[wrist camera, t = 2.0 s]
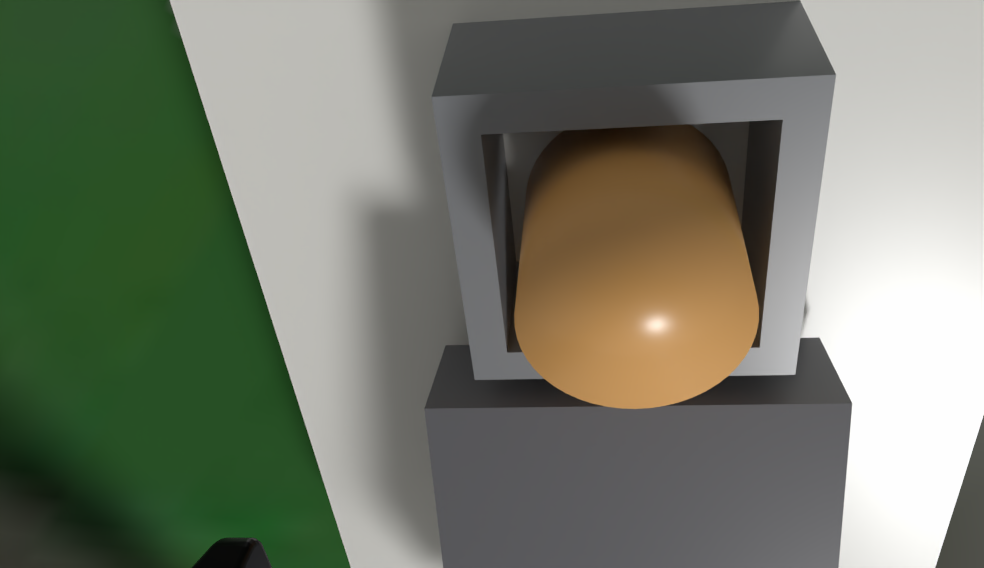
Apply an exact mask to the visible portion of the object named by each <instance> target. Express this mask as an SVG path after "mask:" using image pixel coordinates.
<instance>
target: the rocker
mask: <svg viewBox="0 0 984 568" xmlns="http://www.w3.org/2000/svg"><path fill="white" fill-rule="evenodd" d="M424 410H425V418H426V427H427V435H428V443H429V452H430V460H431V469H432V477H433V486H434V494H435V502H436V511H437V519H438V528H439V536H440V544H441V553H442V561H443V568H838V567H839V555H840V544H841V532H842V520H843V508H844V496H845V485H846V473H847V461H848V449H849V438H850V426H851V414H852V402H851V400H850V398H849V396H848V394H847V392H846V390H845V388H844V386H843V384H842V382H841V380H840V378H839V376H838V374H837V372H836V370H835V368H834V366H833V364H832V362H831V360H830V358H829V356H828V354H827V352H826V350H825V348H824V346H823V344H822V342H821V340H820V338H819V337H818V338H800V344H799V351H798V358H797V366H796V373H795V375H752V376H728V377H726V378H725V379H724V380H722V381H721V382H720V383H719V384H717V385H715V386H714V387H712V388H711V389H709V390H707V391H706V392H703V393H701V394H699V395H697V396H695V397H693V398H690V399H687V400H684V401H682V402H679V403H675V404H670V405H666V406H661V407H654V408H643V409H622V408H613V407H606V406H601V405H597V404H592V403H589V402H586V401H583V400H580V399H577V398H575V397H573V396H571V395H569V394H566V393H565V392H563V391H561V390H559V389H558V388H556V387H554V386H553V385H552V384H550V383H549V382H548V381H546V380H545V379H504V380H475V378H474V372H473V365H472V359H471V352H470V346H469V345H446V346H445V349H444V352H443V355H442V358H441V361H440V364H439V366H438V369H437V372H436V375H435V378H434V381H433V384H432V387H431V390H430V393H429V396H428V399H427V402H426V405H425V408H424Z"/></svg>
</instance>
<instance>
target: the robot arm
mask: <svg viewBox="0 0 984 568" xmlns="http://www.w3.org/2000/svg"><path fill="white" fill-rule="evenodd" d="M192 568H272V567H271V564H270V562H269V560H268V557H267V555H266V552H265V550H264V548H263V546H262V544H261V542H260V541H258V540H257V539H256V538H223V539H220V540H219V541H217V542H215V543H214V544H213V545H212V546H211V547H210V548H209V549H208V550H207V551H206V553H205V554H204V555H203V556H202V557H201V558H200V559H199V560H198V561H197V562H196V564H195V565H194V566H193V567H192Z"/></svg>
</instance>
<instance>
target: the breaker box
mask: <svg viewBox="0 0 984 568" xmlns="http://www.w3.org/2000/svg"><path fill="white" fill-rule="evenodd" d="M170 3H171V6H172V9H173V12H174V15H175V18H176V21H177V25H178V28H179V31H180V34H181V37H182V40H183V43H184V47H185V50H186V53H187V56H188V59H189V62H190V65H191V68H192V72H193V75H194V78H195V81H196V84H197V87H198V90H199V93H200V97H201V100H202V103H203V106H204V109H205V112H206V115H207V119H208V122H209V125H210V128H211V131H212V134H213V137H214V140H215V144H216V147H217V150H218V153H219V156H220V159H221V162H222V165H223V169H224V172H225V175H226V178H227V181H228V184H229V187H230V191H231V194H232V197H233V200H234V203H235V206H236V209H237V212H238V216H239V219H240V222H241V225H242V228H243V231H244V234H245V237H246V241H247V244H248V247H249V250H250V253H251V256H252V259H253V263H254V266H255V269H256V272H257V275H258V278H259V281H260V284H261V288H262V291H263V294H264V297H265V300H266V303H267V306H268V309H269V313H270V316H271V319H272V322H273V325H274V328H275V331H276V335H277V338H278V341H279V344H280V347H281V350H282V353H283V356H284V360H285V363H286V366H287V369H288V372H289V375H290V378H291V381H292V385H293V388H294V391H295V394H296V397H297V400H298V403H299V407H300V410H301V413H302V416H303V419H304V422H305V425H306V428H307V432H308V435H309V438H310V441H311V444H312V447H313V450H314V453H315V457H316V460H317V463H318V466H319V469H320V472H321V475H322V479H323V482H324V485H325V488H326V491H327V494H328V497H329V500H330V504H331V507H332V510H333V513H334V516H335V519H336V522H337V525H338V529H339V532H340V535H341V538H342V541H343V544H344V547H345V551H346V554H347V557H348V560H349V563H350V566H351V568H443V561H442V553H441V544H440V536H439V528H438V519H437V511H436V502H435V494H434V486H433V477H432V469H431V460H430V452H429V443H428V435H427V427H426V418H425V410H424V408H425V405H426V402H427V399H428V396H429V393H430V390H431V387H432V384H433V381H434V378H435V375H436V372H437V369H438V366H439V364H440V361H441V358H442V355H443V352H444V349H445V346H446V345H469V346H470V352H471V359H472V365H473V372H474V378H475V380H504V379H544V378H543V377H542V376H541V375H540V374H539V373H538V372H537V371H536V370H535V369H534V368H533V367H532V366H531V364H530V363H529V362H528V360H527V359H526V357H525V355H524V354H523V352H522V350H521V348H520V345H519V342H518V340H517V336H516V331H515V324H514V312H515V302H516V291H517V281H518V271H519V261H520V251H521V240H522V230H523V220H524V210H525V200H526V191H527V184H528V180H529V176H530V173H531V170H532V168H533V166H534V164H535V162H536V160H537V158H538V157H539V155H540V154H541V152H542V151H543V150H544V149H545V147H546V146H547V145H548V144H549V143H550V142H551V141H552V140H553V139H554V138H555V137H556V136H557V135H559V134H560V133H561V132H562V131H564V130H584V129H604V128H624V127H644V126H664V125H685V124H690V125H692V126H693V127H695V128H696V129H697V130H699V131H700V132H702V133H703V134H704V135H705V136H706V137H707V138H708V139H709V140H710V141H711V142H712V143H713V145H714V146H715V147H716V149H717V150H718V151H719V153H720V154H721V156H722V158H723V160H724V162H725V164H726V167H727V170H728V173H729V177H730V181H731V186H732V190H733V194H734V199H735V203H736V207H737V212H738V216H739V220H740V225H741V229H742V233H743V238H744V242H745V246H746V251H747V255H748V259H749V264H750V268H751V272H752V277H753V281H754V285H755V290H756V294H757V299H758V305H759V323H758V328H757V333H756V336H755V339H754V341H753V344H752V346H751V348H750V350H749V351H748V353H747V355H746V357H745V358H744V359H743V360H742V362H741V363H740V364H739V366H738V367H737V368H736V369H735V370H734V371H733V372H732V373H731V374H730V375H729V376H752V375H795V373H796V366H797V358H798V351H799V344H800V338H818V337H819V338H820V340H821V342H822V344H823V346H824V348H825V350H826V352H827V354H828V356H829V358H830V360H831V362H832V364H833V366H834V368H835V370H836V372H837V374H838V376H839V378H840V380H841V382H842V384H843V386H844V388H845V390H846V392H847V394H848V396H849V398H850V400H851V402H852V414H851V426H850V438H849V449H848V461H847V473H846V485H845V496H844V508H843V520H842V532H841V544H840V555H839V567H838V568H935V566H936V563H937V560H938V557H939V554H940V550H941V547H942V544H943V541H944V538H945V535H946V532H947V528H948V525H949V522H950V518H951V516H952V513H953V509H954V506H955V503H956V500H957V497H958V494H959V490H960V487H961V484H962V481H963V478H964V475H965V472H966V468H967V465H968V462H969V459H970V456H971V453H972V450H973V446H974V443H975V440H976V437H977V434H978V431H979V427H980V424H981V421H982V418H983V415H984V0H170Z"/></svg>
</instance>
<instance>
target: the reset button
mask: <svg viewBox="0 0 984 568" xmlns="http://www.w3.org/2000/svg"><path fill="white" fill-rule="evenodd" d="M758 323H759V305H758V299H757V294H756V290H755V285H754V281H753V277H752V272H751V268H750V264H749V259H748V255H747V251H746V246H745V242H744V238H743V233H742V229H741V225H740V220H739V216H738V212H737V207H736V203H735V199H734V194H733V190H732V186H731V181H730V177H729V173H728V170H727V167H726V164H725V162H724V160H723V158H722V156H721V154H720V153H719V151H718V150H717V149H716V147H715V146H714V145H713V143H712V142H711V141H710V140H709V139H708V138H707V137H706V136H705V135H704V134H703V133H702V132H700V131H699V130H697V129H696V128H695V127H693V126H692V125H690V124H685V125H664V126H644V127H624V128H604V129H584V130H564V131H562V132H561V133H560V134H559V135H557V136H556V137H555V138H554V139H553V140H552V141H551V142H550V143H549V144H548V145H547V146H546V147H545V149H544V150H543V151H542V152H541V154H540V155H539V157H538V158H537V160H536V162H535V164H534V166H533V168H532V170H531V173H530V176H529V180H528V184H527V191H526V200H525V210H524V220H523V230H522V240H521V251H520V261H519V271H518V281H517V291H516V302H515V312H514V324H515V331H516V336H517V340H518V342H519V345H520V348H521V350H522V352H523V354H524V355H525V357H526V359H527V360H528V362H529V363H530V364H531V366H532V367H533V368H534V369H535V370H536V371H537V372H538V373H539V374H540V375H541V376H542V377H543V378H544V379H545V380H546V381H548V382H549V383H550V384H552V385H553V386H554V387H556V388H558V389H559V390H561V391H563V392H565V393H566V394H569V395H571V396H573V397H575V398H577V399H580V400H583V401H586V402H589V403H592V404H597V405H601V406H606V407H613V408H622V409H643V408H654V407H661V406H666V405H670V404H675V403H679V402H682V401H684V400H687V399H690V398H693V397H695V396H697V395H699V394H701V393H703V392H706V391H707V390H709V389H711V388H712V387H714V386H715V385H717V384H719V383H720V382H721V381H722V380H724V379H725V378H726V377H728V376H729V375H730V374H731V373H732V372H733V371H734V370H735V369H736V368H737V367H738V366H739V364H740V363H741V362H742V360H743V359H744V358H745V357H746V355H747V353H748V351H749V350H750V348H751V346H752V344H753V341H754V339H755V336H756V333H757V328H758Z"/></svg>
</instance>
